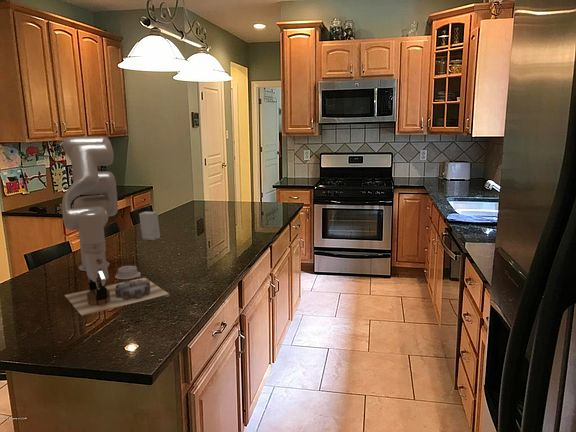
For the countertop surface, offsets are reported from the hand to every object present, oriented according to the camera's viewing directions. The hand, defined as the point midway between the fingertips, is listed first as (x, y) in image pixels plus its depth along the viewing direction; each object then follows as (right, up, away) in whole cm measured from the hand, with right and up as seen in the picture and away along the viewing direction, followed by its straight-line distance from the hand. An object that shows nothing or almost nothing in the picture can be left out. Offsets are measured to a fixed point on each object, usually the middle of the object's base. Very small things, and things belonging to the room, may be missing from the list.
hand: (98, 295), depth 161 cm
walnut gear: (0, -2, +1) cm, 2 cm away
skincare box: (-9, +15, +93) cm, 94 cm away
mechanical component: (0, +2, +29) cm, 29 cm away
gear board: (+4, -2, +7) cm, 8 cm away
